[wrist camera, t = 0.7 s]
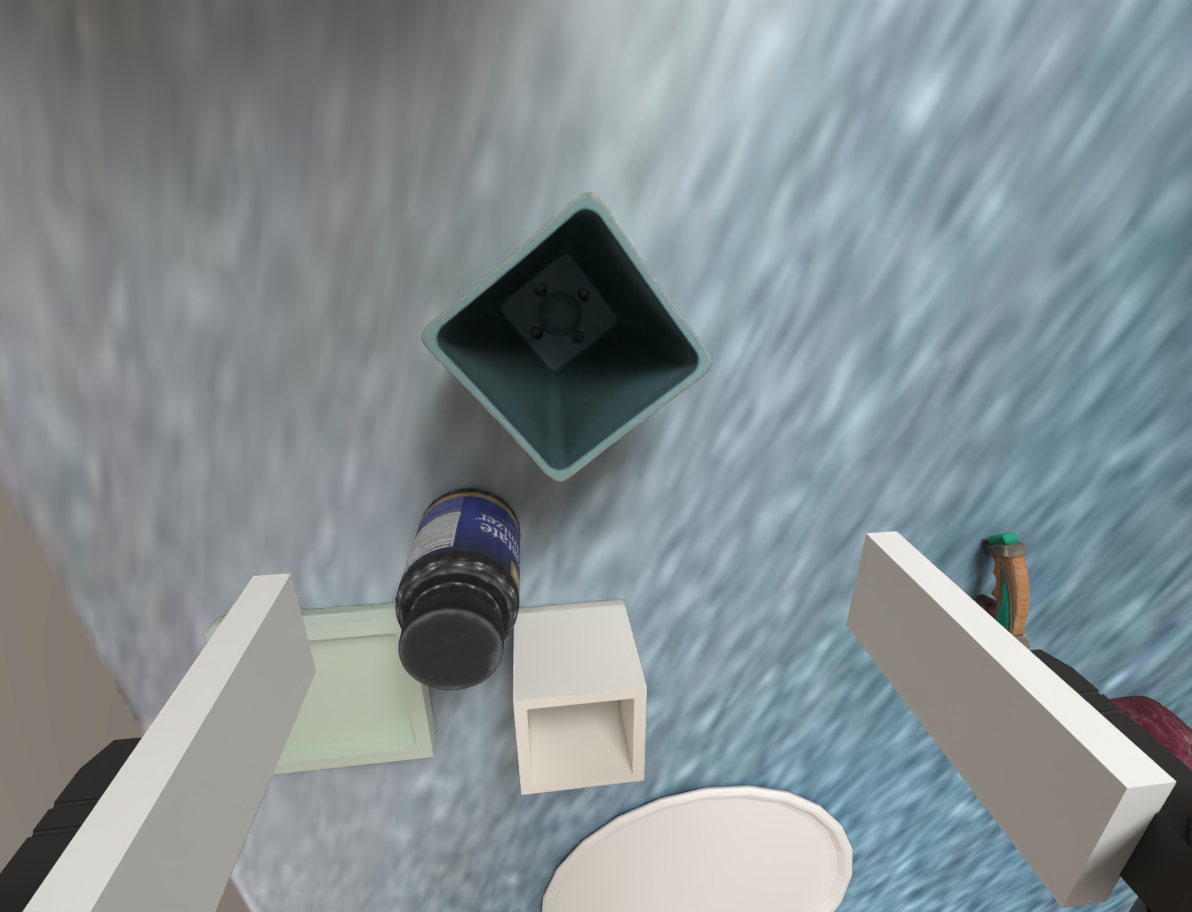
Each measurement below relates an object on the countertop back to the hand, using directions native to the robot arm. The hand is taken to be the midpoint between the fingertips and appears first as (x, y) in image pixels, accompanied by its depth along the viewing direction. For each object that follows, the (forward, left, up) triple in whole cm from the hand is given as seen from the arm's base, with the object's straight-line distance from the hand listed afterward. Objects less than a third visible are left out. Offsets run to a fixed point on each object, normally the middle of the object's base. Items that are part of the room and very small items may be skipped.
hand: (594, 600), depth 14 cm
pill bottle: (+10, -5, -22) cm, 24 cm away
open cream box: (+20, +1, -21) cm, 29 cm away
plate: (+50, +12, -22) cm, 56 cm away
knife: (+23, +32, -22) cm, 45 cm away
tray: (+21, -15, -21) cm, 34 cm away
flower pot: (-3, +1, -22) cm, 22 cm away
